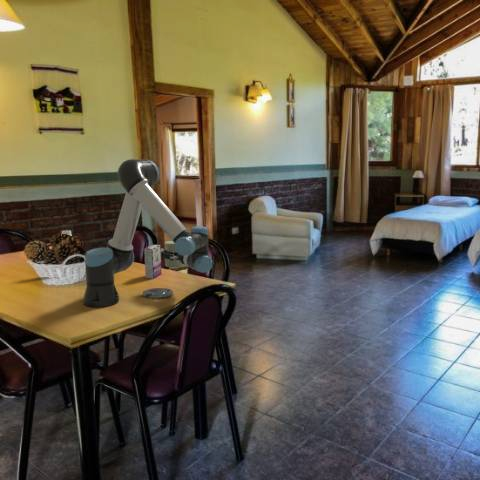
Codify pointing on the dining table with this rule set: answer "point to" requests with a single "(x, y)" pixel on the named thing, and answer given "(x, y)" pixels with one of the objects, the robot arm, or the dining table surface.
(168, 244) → the can
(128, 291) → the dining table surface
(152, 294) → the flange plate
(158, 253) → the candy bar box
